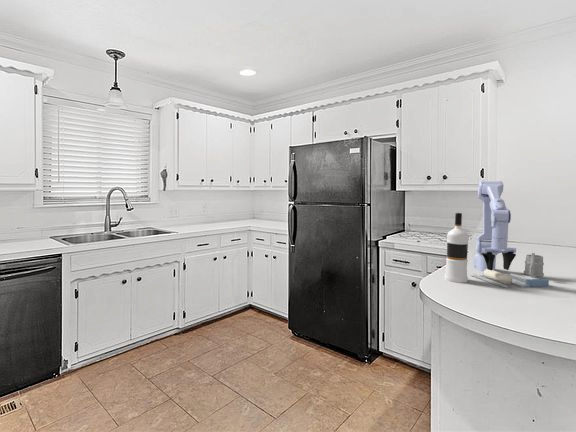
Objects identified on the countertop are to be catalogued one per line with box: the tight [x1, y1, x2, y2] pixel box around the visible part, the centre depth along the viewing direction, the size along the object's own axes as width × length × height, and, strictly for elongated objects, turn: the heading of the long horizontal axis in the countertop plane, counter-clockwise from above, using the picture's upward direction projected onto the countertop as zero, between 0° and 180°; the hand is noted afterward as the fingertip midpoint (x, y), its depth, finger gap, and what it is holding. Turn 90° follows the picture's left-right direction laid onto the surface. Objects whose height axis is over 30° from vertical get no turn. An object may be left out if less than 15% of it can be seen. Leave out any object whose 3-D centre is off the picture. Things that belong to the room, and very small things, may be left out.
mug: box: [523, 252, 545, 279], centre depth 158 cm, size 8×12×12 cm, turn 139°
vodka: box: [443, 212, 470, 284], centre depth 149 cm, size 9×9×30 cm
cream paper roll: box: [482, 269, 512, 285], centre depth 148 cm, size 12×4×4 cm, turn 8°
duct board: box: [471, 273, 553, 289], centre depth 149 cm, size 20×22×4 cm
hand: (498, 269), depth 148 cm, fingers open, 7 cm apart
